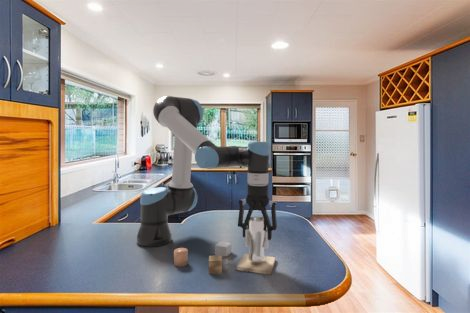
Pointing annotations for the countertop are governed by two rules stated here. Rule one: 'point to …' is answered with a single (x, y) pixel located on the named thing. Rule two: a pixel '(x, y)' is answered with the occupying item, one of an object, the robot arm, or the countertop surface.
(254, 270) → the beech board
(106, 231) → the countertop surface
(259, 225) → the silver metal cup
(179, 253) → the peach rounded capsule
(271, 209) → the robot arm
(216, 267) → the oak cube
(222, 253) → the grey plastic box
